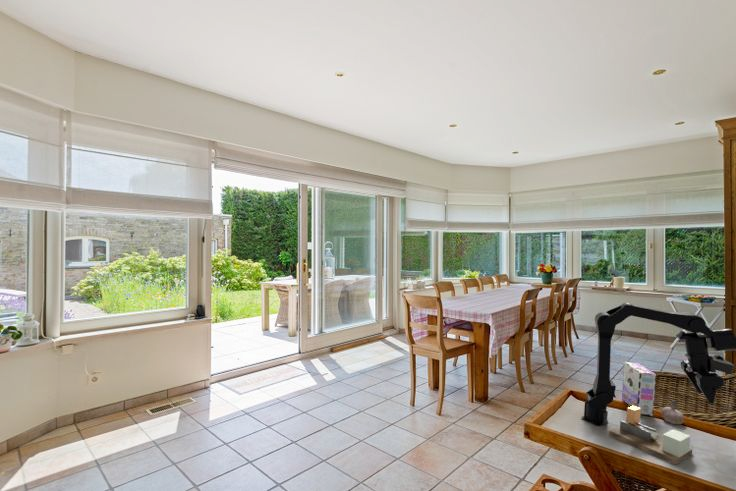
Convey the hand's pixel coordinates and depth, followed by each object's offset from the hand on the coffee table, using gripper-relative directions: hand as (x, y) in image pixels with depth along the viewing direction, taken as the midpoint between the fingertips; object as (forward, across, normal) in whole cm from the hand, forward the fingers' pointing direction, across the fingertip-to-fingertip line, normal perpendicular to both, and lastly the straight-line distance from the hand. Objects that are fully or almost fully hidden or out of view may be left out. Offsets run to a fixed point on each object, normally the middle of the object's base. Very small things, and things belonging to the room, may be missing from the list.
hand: (705, 398), depth 129 cm
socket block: (+11, -14, +14) cm, 23 cm away
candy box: (+12, +21, +17) cm, 30 cm away
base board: (+11, -10, +20) cm, 25 cm away
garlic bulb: (+14, +14, +8) cm, 21 cm away
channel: (+9, -8, +22) cm, 25 cm away
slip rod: (+9, -8, +22) cm, 25 cm away
